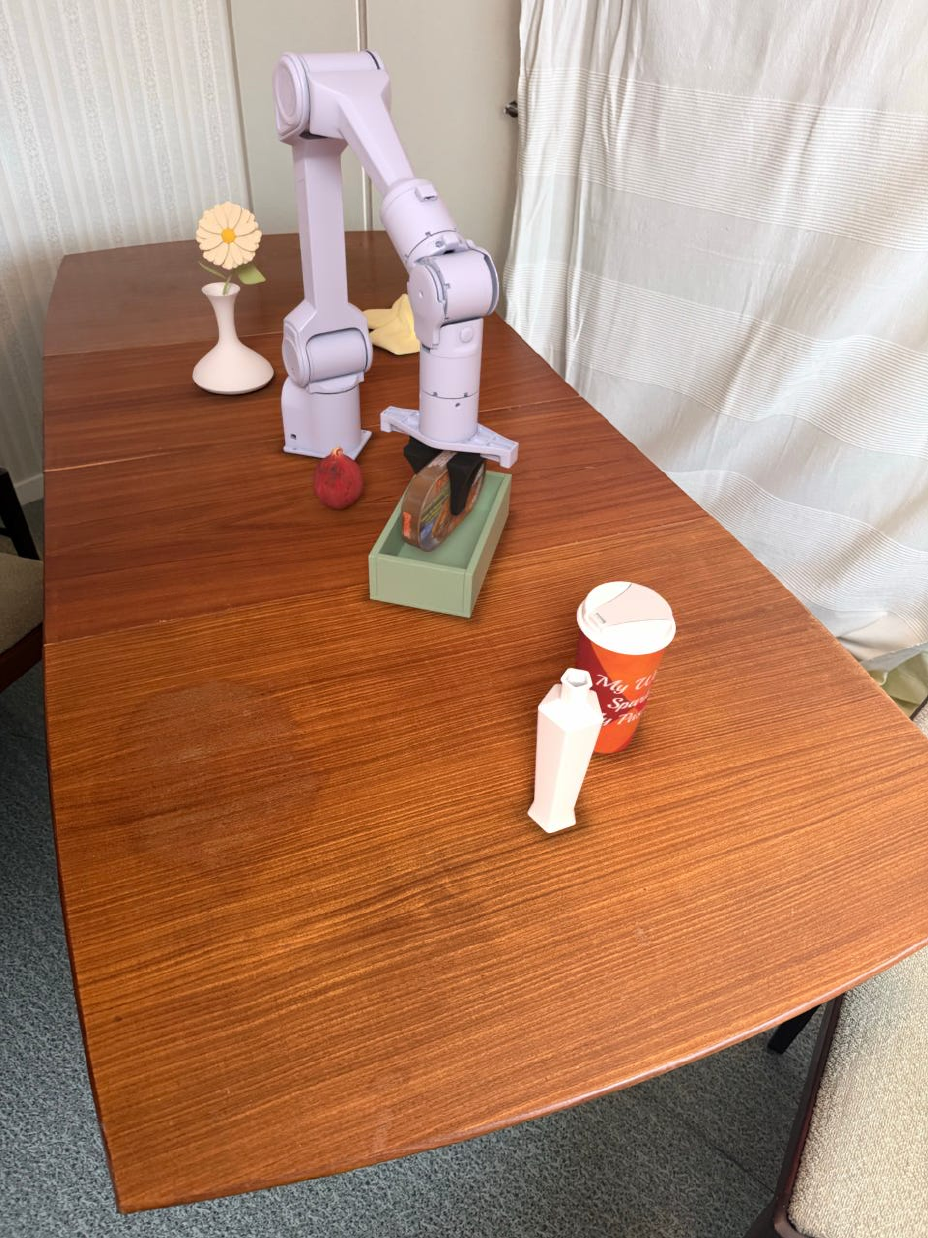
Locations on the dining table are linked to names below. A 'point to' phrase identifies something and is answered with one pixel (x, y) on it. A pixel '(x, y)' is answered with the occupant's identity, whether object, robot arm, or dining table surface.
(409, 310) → the cloth
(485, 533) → the open rectangular box
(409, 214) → the robot arm
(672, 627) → the paper cup
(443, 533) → the tin
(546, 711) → the white tall faceted bottle
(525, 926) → the dining table surface
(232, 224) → the flower in vase
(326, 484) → the pomegranate
